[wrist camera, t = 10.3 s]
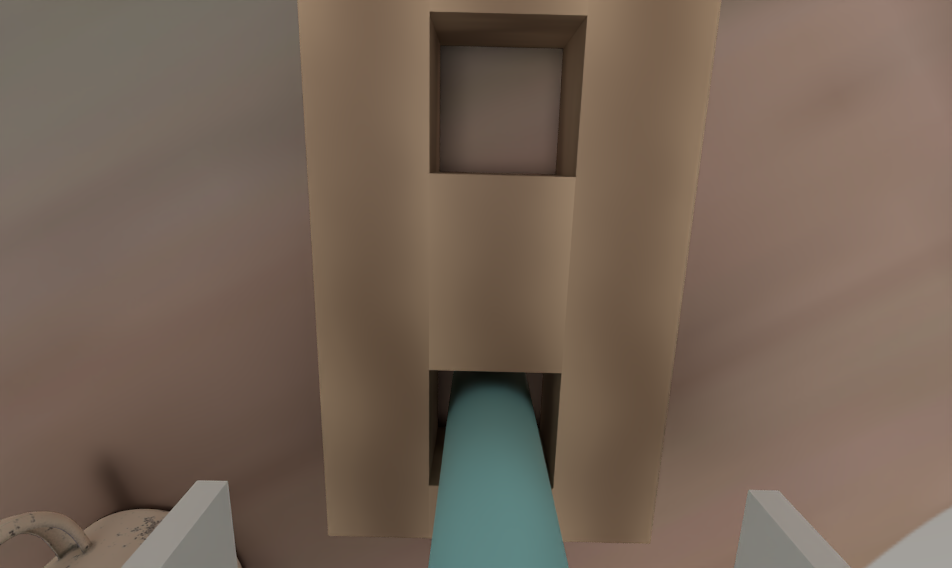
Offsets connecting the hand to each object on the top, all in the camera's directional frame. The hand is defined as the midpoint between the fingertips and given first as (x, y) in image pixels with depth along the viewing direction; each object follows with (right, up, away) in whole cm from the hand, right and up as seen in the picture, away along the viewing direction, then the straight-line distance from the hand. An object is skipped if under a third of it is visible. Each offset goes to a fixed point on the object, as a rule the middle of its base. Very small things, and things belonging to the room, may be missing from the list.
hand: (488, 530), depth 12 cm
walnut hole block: (0, +7, +7) cm, 10 cm away
